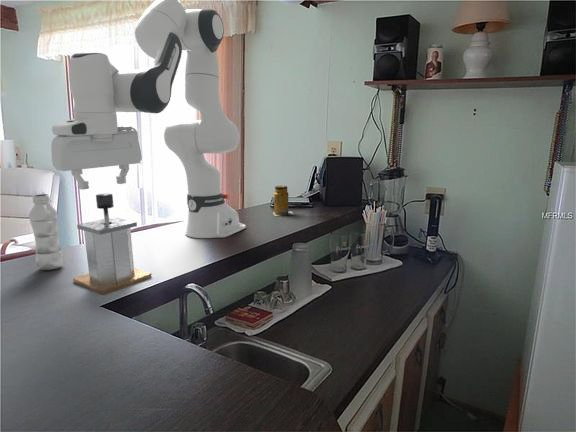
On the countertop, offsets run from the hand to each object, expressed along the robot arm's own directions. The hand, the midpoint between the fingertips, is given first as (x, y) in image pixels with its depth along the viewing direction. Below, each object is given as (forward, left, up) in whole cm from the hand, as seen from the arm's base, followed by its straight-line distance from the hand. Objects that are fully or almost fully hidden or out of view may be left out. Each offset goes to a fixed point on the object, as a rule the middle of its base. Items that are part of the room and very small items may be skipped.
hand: (103, 186), depth 96 cm
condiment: (-85, -9, -24) cm, 89 cm away
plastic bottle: (+5, -21, -24) cm, 32 cm away
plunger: (0, 0, -19) cm, 19 cm away
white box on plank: (0, 0, -24) cm, 24 cm away
